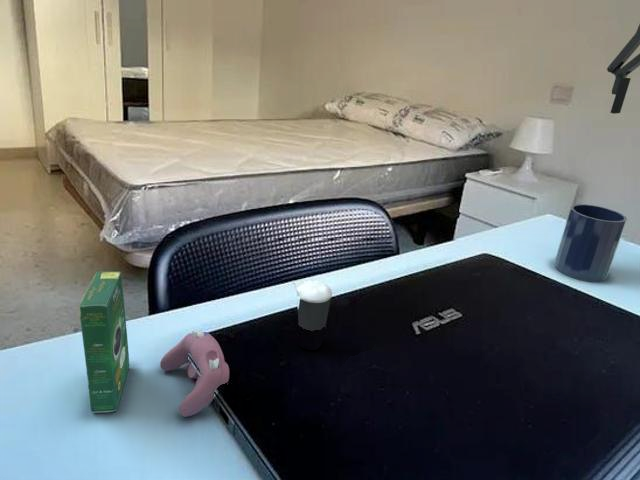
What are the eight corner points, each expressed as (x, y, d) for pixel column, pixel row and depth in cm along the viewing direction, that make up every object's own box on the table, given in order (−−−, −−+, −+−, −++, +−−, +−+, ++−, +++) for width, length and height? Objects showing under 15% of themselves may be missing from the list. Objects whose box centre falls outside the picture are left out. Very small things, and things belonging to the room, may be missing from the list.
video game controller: (215, 423, 55) (243, 369, 54) (177, 420, 52) (206, 363, 51) (189, 370, 63) (213, 323, 62) (155, 365, 60) (180, 315, 59)
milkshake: (283, 337, 68) (287, 272, 64) (319, 332, 70) (325, 269, 66) (293, 357, 64) (298, 289, 60) (331, 351, 66) (338, 285, 62)
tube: (603, 267, 100) (623, 210, 95) (609, 286, 91) (630, 226, 87) (553, 256, 103) (569, 200, 98) (554, 274, 95) (571, 214, 90)
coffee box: (105, 366, 60) (95, 268, 55) (131, 365, 60) (123, 268, 55) (89, 414, 53) (75, 307, 48) (118, 412, 53) (107, 306, 48)
